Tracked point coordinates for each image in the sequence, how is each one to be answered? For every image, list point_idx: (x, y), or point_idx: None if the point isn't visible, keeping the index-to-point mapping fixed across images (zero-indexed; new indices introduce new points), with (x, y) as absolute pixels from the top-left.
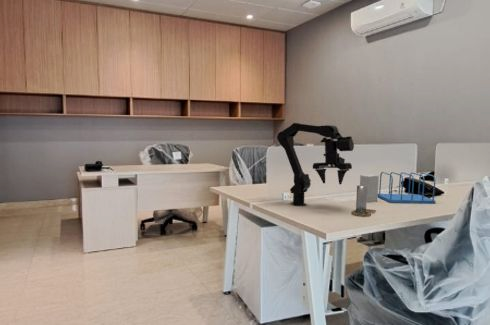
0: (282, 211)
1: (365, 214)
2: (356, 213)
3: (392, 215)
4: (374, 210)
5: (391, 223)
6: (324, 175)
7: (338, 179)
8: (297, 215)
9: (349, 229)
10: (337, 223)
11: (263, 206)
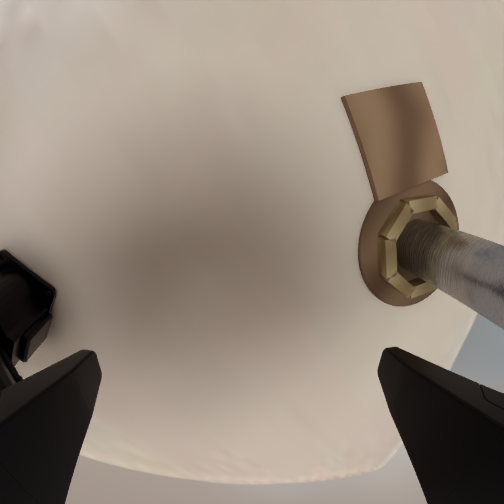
0: (120, 449)
1: None
2: (416, 295)
3: (478, 122)
4: (421, 96)
5: None
6: (28, 432)
7: (402, 440)
8: (204, 454)
9: None
10: (375, 415)
11: None
